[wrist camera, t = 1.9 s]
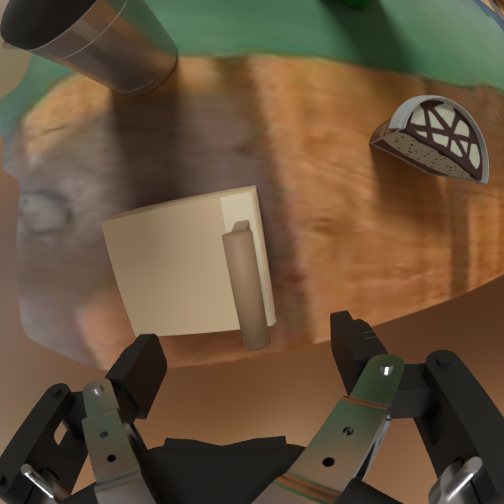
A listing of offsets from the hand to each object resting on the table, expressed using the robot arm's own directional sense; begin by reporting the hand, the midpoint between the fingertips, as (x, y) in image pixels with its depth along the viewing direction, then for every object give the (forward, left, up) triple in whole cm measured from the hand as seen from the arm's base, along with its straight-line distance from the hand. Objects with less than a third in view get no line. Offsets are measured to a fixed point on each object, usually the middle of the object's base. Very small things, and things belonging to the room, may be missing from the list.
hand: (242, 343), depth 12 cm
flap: (0, -6, -11) cm, 13 cm away
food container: (-10, +20, -20) cm, 30 cm away
